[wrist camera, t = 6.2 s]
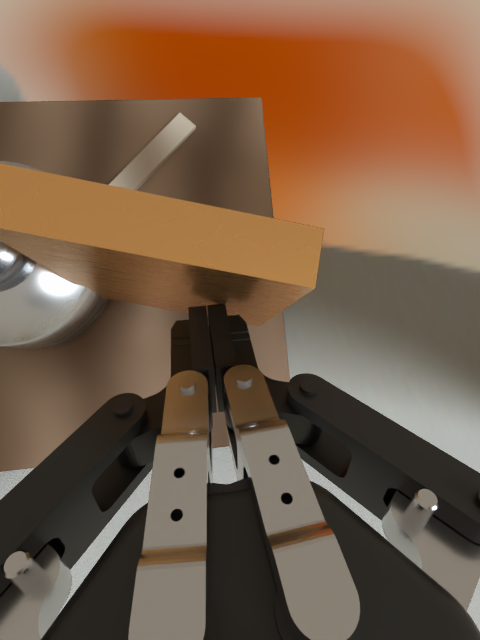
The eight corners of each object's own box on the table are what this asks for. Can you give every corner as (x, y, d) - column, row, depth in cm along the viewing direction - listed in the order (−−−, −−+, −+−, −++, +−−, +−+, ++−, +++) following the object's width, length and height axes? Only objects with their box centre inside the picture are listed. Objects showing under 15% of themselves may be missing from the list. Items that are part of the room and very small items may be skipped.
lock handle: (-62, 333, 19) (-436, 295, 8) (-21, 187, 20) (-302, -29, 9) (247, 386, 20) (296, 416, 9) (270, 244, 21) (340, 116, 10)
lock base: (256, 119, 24) (261, 93, 22) (287, 431, 22) (297, 439, 20) (-72, 127, 22) (-104, 100, 20) (-73, 471, 20) (-109, 485, 18)
